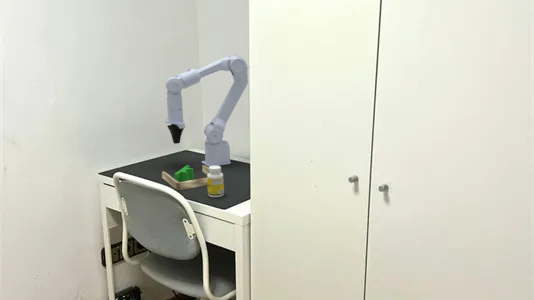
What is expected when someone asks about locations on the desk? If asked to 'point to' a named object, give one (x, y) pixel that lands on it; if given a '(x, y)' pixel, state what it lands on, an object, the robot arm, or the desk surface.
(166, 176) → the birch bay
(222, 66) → the robot arm
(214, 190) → the supplement bottle
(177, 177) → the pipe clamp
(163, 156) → the desk surface
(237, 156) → the desk surface
